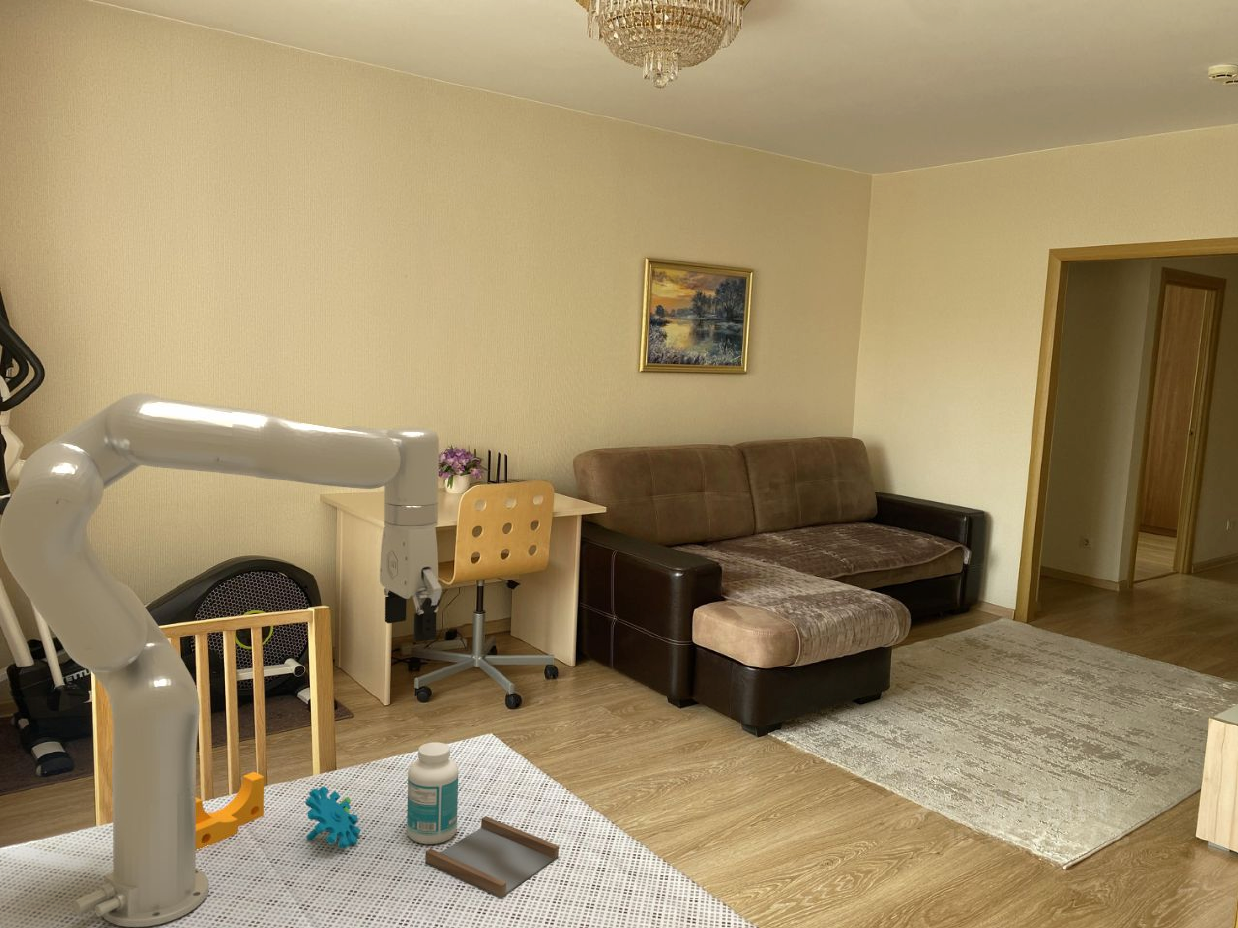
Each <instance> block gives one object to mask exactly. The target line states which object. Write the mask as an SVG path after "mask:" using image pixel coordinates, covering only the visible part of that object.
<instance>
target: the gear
mask: <svg viewBox="0 0 1238 928" xmlns="http://www.w3.org/2000/svg"><path fill="white" fill-rule="evenodd" d="M329 792H330V790H329V789H328V787H325V786H321V787H320V788H313V789H312V790H310V791H309V792H308V795H309V796H310V797H308V798H307V799H306V800H305V802H304V804H305V805H306V806H307V807H309V808H310V809H309V810H308V811H307V818H308V819H309V820H310V821H313V820H315V821H317V822H318V823H317V824H315V826H314V829H312V830H311V831H310V832H309V833H308V834H307V835H306V836H305V837H306V839H307V840H308V841H309V842H311V841H313V840H314V839H315V838H316V837H317V836H319V835H321V834H322V833H323V832H324V831H326V832H329V834H328V835H327V836H326V837H325V840H326V842H328V844H330V845H334V844H335V842H336V841H337V840H338V837H339V841H338V842H337V845H338V847H339V848H341V849H344V850H345V849H346V848H347V847H348V846H351V847H352V846H354V845H355V844H356V843H357V842H358V841H359V840H358V839H357V837H358V835H360V833H361V829H360V828H359V827H358V826H356V824H357V823H358V822H359V821H358V816H357V815H356V814H354V813H353V814H351V813H350V809H352V807H351V805H350V804H351V803H352V800H351V798H350V797H348V796H347V797H345V798H344V799H343V800H342V801H340V802H339V803H338V802H337V801H339V799H340V798H341V795H340V794H339V793H338V792H337V791H336V790H334V791H333V792H332V793H331V794H330V795H329V797H328V794H329Z"/></svg>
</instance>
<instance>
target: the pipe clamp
mask: <svg viewBox="0 0 1238 928" xmlns="http://www.w3.org/2000/svg"><path fill="white" fill-rule="evenodd" d="M203 802H204V801H203V800H202V799H201V798H199V797H197V796H196V850H197V849H200V848H203V847H205V846H207V845H210V846H212V845H214V844H217V843H219V842H222V841H223V839H224V840H226V839H228V838H230V836H231V837H233V836H236V835H238V834H239V833H238V830H239V827H240V826H242V825H245V824H247V823H251V822H253V821H255V820H257V819H260V818H262V817H264V816H265V812H264V811H265V809H264V808H265V776H263V775H262V774H260V773H257V772H256V771H252V772H250V773H246V774H245V775H243V776H242V780H241V785H240V788H239V790H238V792H237V794H236V795H235V797H234V798H233V799H232V801H230V802H229V803H228V804H227V805H226V806H225V807H223V808H221V809H218V810H217V811H214V812H213V811H212V812H206V810H205V807H204V804H203ZM237 833H238V834H237ZM235 834H236V835H235ZM232 835H233V836H232ZM216 842H217V843H216ZM207 847H208V846H207ZM205 848H206V847H205ZM203 849H204V848H203ZM200 850H201V849H200Z"/></svg>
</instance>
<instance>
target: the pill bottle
mask: <svg viewBox="0 0 1238 928" xmlns="http://www.w3.org/2000/svg"><path fill="white" fill-rule="evenodd" d="M450 757H451V748H450V746H449V745H448V744H447V743H443V742H428V743H424V744H422V745H421V746H419V747H418V750H417V758H418V759H416V760H414V761H413V762H412V763H411V764H410V766H409V768H408V770H407V771H408V773H407V774H408V775H407V810H406V811H407V812H406V813H407V816H406V817H407V818H406V819H407V821H406V823H407V825H406V831H407V835H408V837H409V838H410V839H411V840H412V841H414V842H416V843H418V844H422V845H437V844H442V843H444V842H446V841H449V840H450V839H452V838H453V837H454V835H456V833H457V830H458V829H457V828H458V804H459V803H458V801H459V800H458V799H459V798H458V797H459V766H458V764H457V762H455V760H453V759H452V758H450Z"/></svg>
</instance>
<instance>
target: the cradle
mask: <svg viewBox="0 0 1238 928" xmlns="http://www.w3.org/2000/svg"><path fill="white" fill-rule="evenodd" d="M559 855H560V845H558V844H555V843H553V842H551V841H548V840H545V839H544V838H541V837H538V836H536V835H533V834H530V833H528V832H525V831H523V830H521V829H518V828H516V827H514V826H511V825H509V824H506V823H503V822H501V821H498V820H497V819H493V818H491V817H489V816H487V815H485V816H483V817H481V820H480V828H479V829H476V830H475V831H474V832H472V833H470V834H468V835H466V836H464V838H462V839H460V840H458V841H457V842H454V843H453V844H452V845H450V846H448V847H446V848H445V849H443V850H442V851H440V852H439V851H437V850H435V849H433V848H428V850H425V857H424V863H425V865H428V866H430V867H433V868H435V869H437V870H439V871H441V872H444V873H445V874H448V875H450V876H451V877H454V878H456V879H457V880H460V881H462V882H465V883H467V884H469V885H471V886H473V887H475V888H478V889H480V890H483V891H484V892H486V893H488V894H491V895H492V896H495V897H497V898H499V899H503V898H504V897H505V896H506V895H508V894H509V893H511V892H512V891H514V890H515V889H517V888H518V887H519V886H521V885H522V884H524V883H525V882H527V881H528V880H529V879H530V878H532V877H533V876H535V875H536V874H538V873H539V872H540V871H542V870H543V869H546V867H548V866H549V865H550V864H551V863H553V862H554V861H556V860H557V859H558V858H559V857H560V856H559ZM555 859H556V860H555ZM552 861H553V862H552Z"/></svg>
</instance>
